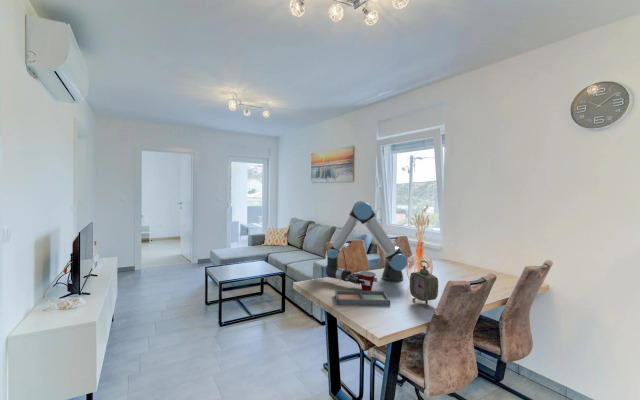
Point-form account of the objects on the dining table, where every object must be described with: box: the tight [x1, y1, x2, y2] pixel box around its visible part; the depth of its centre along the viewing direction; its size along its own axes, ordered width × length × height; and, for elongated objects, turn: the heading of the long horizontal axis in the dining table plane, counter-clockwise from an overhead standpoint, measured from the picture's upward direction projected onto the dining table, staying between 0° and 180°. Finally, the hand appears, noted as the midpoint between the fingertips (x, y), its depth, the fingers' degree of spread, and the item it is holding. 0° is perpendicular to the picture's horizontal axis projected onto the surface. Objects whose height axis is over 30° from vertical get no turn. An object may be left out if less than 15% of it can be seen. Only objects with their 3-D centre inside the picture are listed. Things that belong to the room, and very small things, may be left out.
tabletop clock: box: [409, 260, 439, 309], centre depth 174 cm, size 14×9×25 cm, turn 21°
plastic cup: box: [358, 270, 377, 291], centre depth 195 cm, size 11×11×12 cm
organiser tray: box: [334, 289, 391, 306], centre depth 179 cm, size 30×16×3 cm, turn 91°
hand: (373, 281), depth 192 cm, fingers closed on plastic cup, 9 cm apart
